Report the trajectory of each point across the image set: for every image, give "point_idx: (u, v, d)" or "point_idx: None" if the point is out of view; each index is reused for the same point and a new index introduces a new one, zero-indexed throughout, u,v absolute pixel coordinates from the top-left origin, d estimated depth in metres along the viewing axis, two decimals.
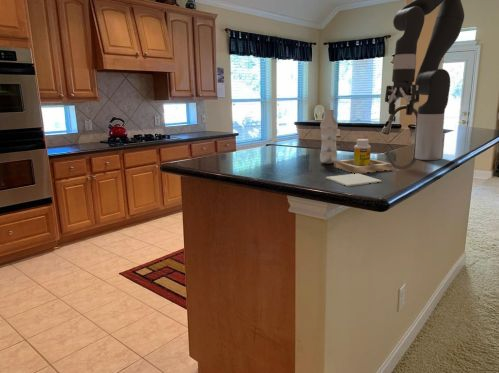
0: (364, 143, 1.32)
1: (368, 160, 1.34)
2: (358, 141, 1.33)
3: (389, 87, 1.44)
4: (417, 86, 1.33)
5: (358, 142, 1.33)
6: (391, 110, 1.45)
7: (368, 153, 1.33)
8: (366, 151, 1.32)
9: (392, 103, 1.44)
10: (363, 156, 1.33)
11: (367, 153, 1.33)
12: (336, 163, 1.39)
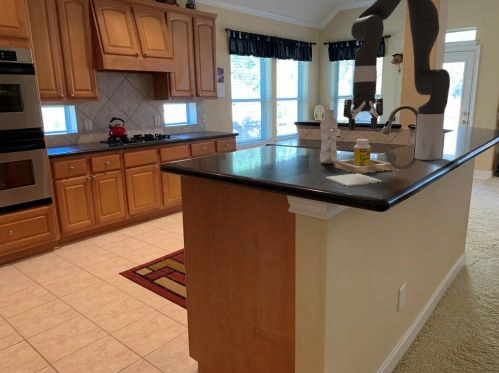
0: (364, 143, 1.32)
1: (368, 160, 1.34)
2: (358, 141, 1.33)
3: None
4: None
5: (358, 142, 1.33)
6: None
7: (368, 153, 1.33)
8: (366, 151, 1.32)
9: None
10: (363, 157, 1.33)
11: (367, 153, 1.33)
12: (336, 163, 1.39)
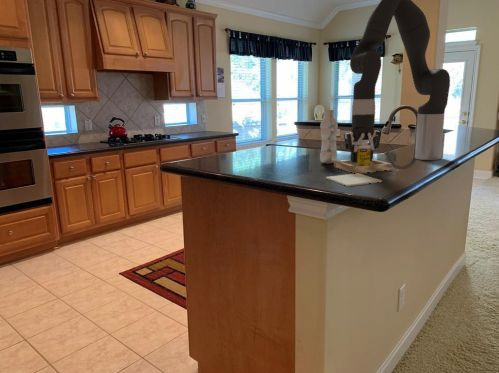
0: (364, 143, 1.32)
1: (368, 160, 1.34)
2: None
3: None
4: None
5: None
6: None
7: (368, 153, 1.33)
8: (366, 151, 1.32)
9: None
10: (363, 156, 1.33)
11: (367, 153, 1.33)
12: (336, 163, 1.39)
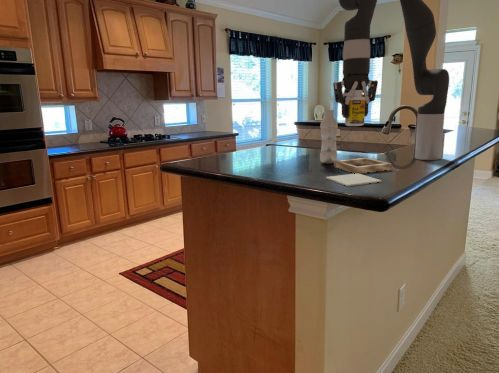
0: (358, 94, 1.12)
1: (362, 114, 1.13)
2: None
3: None
4: None
5: None
6: None
7: (362, 105, 1.12)
8: (359, 103, 1.11)
9: None
10: (356, 110, 1.12)
11: (361, 106, 1.12)
12: (336, 163, 1.39)
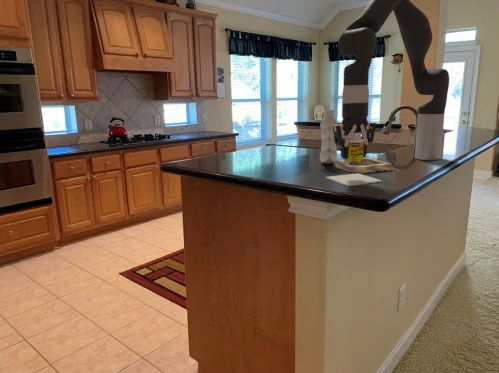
0: (356, 136, 1.14)
1: (361, 156, 1.16)
2: None
3: None
4: None
5: None
6: None
7: (361, 148, 1.15)
8: (358, 145, 1.14)
9: None
10: (354, 152, 1.15)
11: (360, 148, 1.15)
12: (336, 163, 1.39)
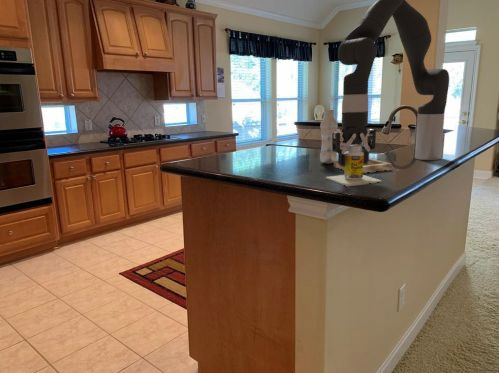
0: (356, 150, 1.15)
1: (361, 169, 1.17)
2: (349, 147, 1.16)
3: None
4: None
5: (349, 149, 1.16)
6: None
7: (361, 161, 1.16)
8: (358, 159, 1.15)
9: None
10: (355, 165, 1.16)
11: (360, 161, 1.16)
12: (336, 163, 1.39)
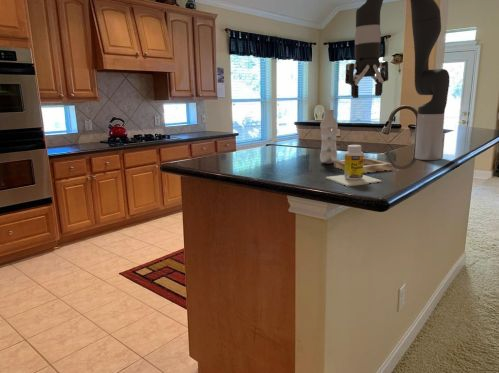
0: (356, 150, 1.16)
1: (361, 169, 1.17)
2: (349, 147, 1.16)
3: None
4: None
5: (349, 148, 1.16)
6: None
7: (361, 161, 1.16)
8: (358, 159, 1.15)
9: None
10: (355, 165, 1.16)
11: (360, 161, 1.16)
12: (336, 163, 1.39)
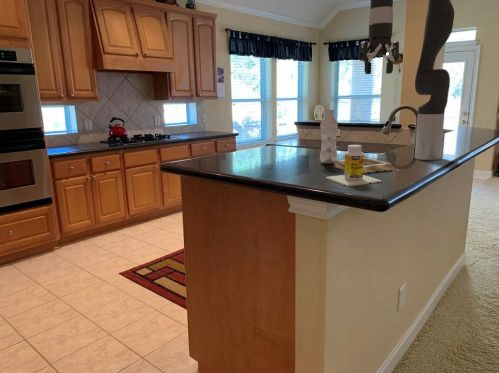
0: (357, 150, 1.15)
1: (361, 169, 1.17)
2: (349, 147, 1.16)
3: None
4: None
5: (349, 148, 1.16)
6: None
7: (361, 161, 1.16)
8: (358, 159, 1.15)
9: None
10: (355, 165, 1.16)
11: (360, 161, 1.16)
12: (336, 163, 1.39)
